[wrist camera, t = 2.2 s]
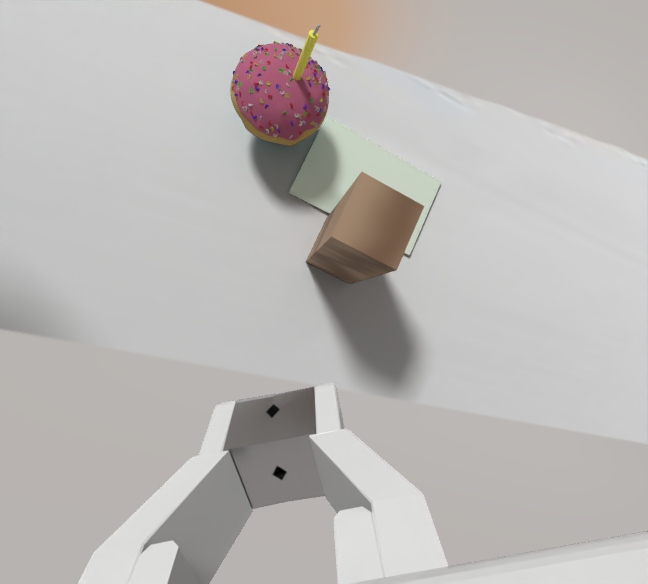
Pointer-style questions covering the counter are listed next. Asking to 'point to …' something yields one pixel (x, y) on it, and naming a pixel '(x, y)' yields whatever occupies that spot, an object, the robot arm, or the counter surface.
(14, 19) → the counter surface
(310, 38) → the cupcake
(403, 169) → the mat
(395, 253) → the block
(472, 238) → the counter surface
